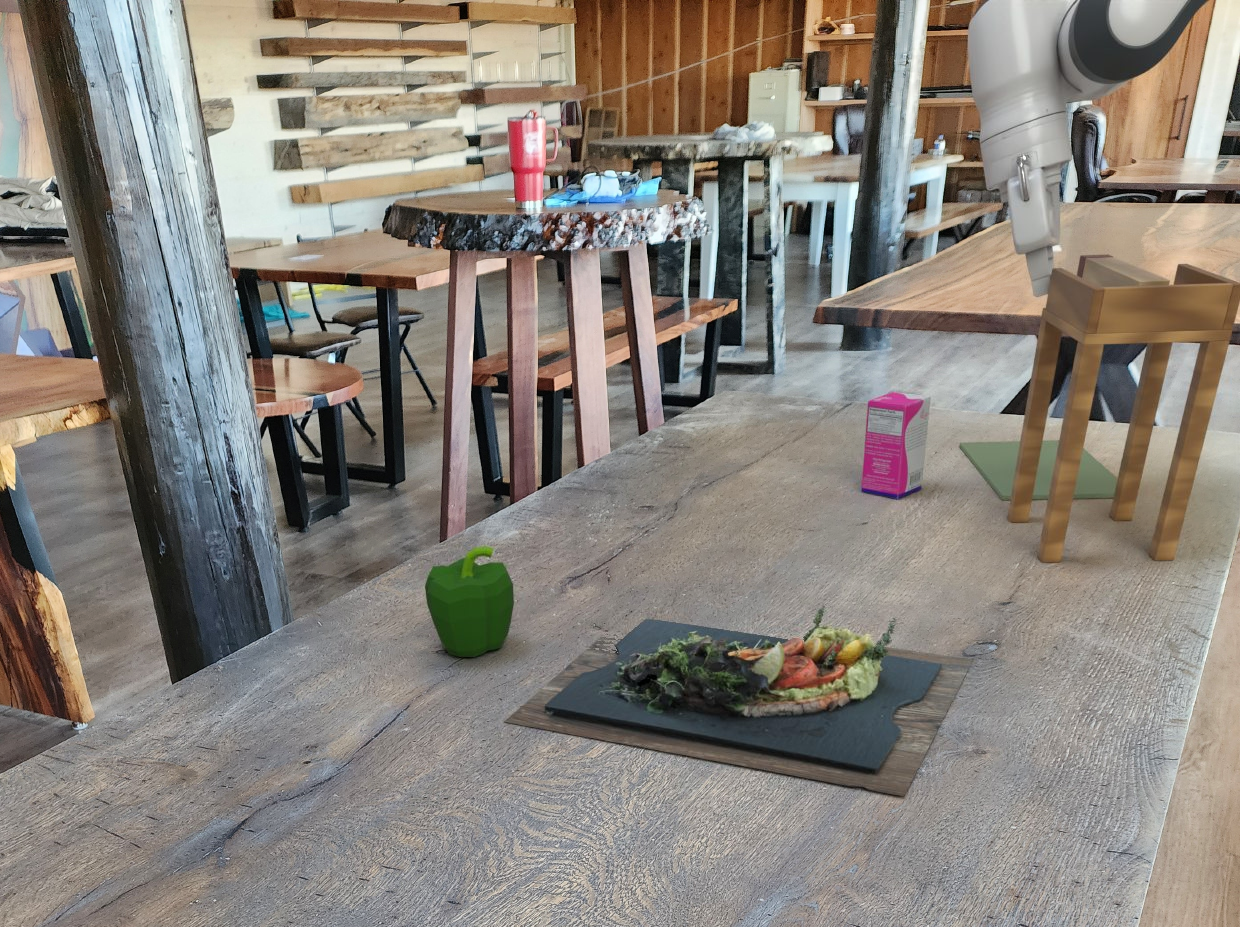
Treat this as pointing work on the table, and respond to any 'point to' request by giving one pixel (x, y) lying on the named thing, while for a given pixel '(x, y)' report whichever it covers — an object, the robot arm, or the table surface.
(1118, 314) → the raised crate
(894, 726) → the plated dish
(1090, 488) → the rubber mat
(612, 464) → the table surface
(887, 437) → the supplement box
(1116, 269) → the maple bar
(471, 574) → the bell pepper
